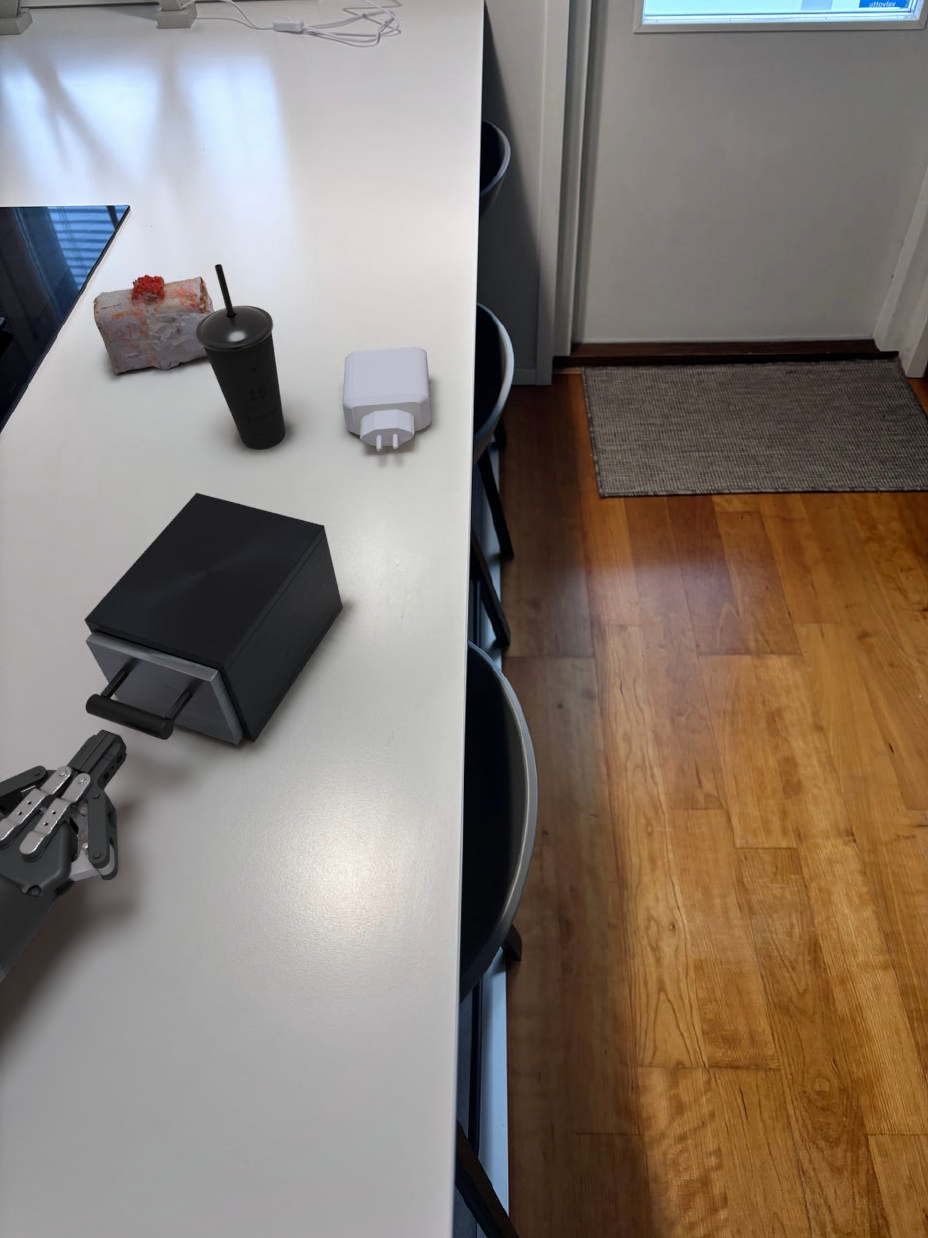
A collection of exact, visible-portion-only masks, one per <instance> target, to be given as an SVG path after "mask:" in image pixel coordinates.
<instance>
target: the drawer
mask: <svg viewBox="0 0 928 1238" xmlns="http://www.w3.org/2000/svg"><path fill="white" fill-rule="evenodd" d="M123 639H124V638H123ZM123 639H120V638H117V637H114V636H111V635H108V634H105V633H101V632H98V631H95V630H94V631H93V632H92V633H91V632H90V634H89V636H88V637H87V638H86V639H85V643H86V645H87V647H88V649H89V650H90V652H91V654H92V656H93V657H94V659H95V662H96V663H97V665H98V667H99V668H100V671H101V672H102V674H103V676H104V677H105V679H106V682H107V685H106V686H105V688H103V690H102V691H101V692H100V694H98V693H93V694H92V695H90V696H89V697H88V698H87V700H86V703H85V712H86V713H87V714H89V715H91V716H94V717H97V718H100V719H102V720H105V721H108V722H111V723H114V724H117V725H119V726H123V727H125V728H128V729H131V730H133V731H134V730H135V731H137V732H140V733H142V734H145V735H147V736H151V737H154V738H155V739H159V740H163V741H166V740H169V739H170V738H171V736H172V735H173V733H174V730H175V724H176V725H178V726H181V727H184V728H187V729H190V730H192V731H196V732H199V733H201V734H204V735H207V736H210V737H213V738H215V739H218V740H222V741H225V742H228V743H230V744H233V745H239V743H240V741H241V740H242V739H243V738H242V737H243V736H244V731H243V729H242V726H241V724H240V721H239V719H238V716H237V714H236V711H235V709H234V706H233V704H232V702H231V699H230V697H229V694H228V692H227V689H226V687H225V684H224V682H223V679H222V677H221V674H220V672H219V670H217V669H216V668H215V667H212V666H208V665H205V664H202V663H199V662H196V661H193V660H190V659H187V658H183V657H180V656H177V655H174V654H171V653H168V652H165V651H162V650H159V649H155V648H152V647H149V646H146V645H143V644H140V643H137V642H134V641H130V640H127V639H124V640H123ZM113 695H114V696H115V698H116V699H117V700H116V699H113V698H112V697H113Z"/></svg>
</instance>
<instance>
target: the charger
mask: <svg viewBox="0 0 928 1238" xmlns="http://www.w3.org/2000/svg"><path fill="white" fill-rule="evenodd" d="M428 363H429V362H428V353H427V350H425V349H424V348H422V347H418V346H407V347H396V348H395V347H393V348H383V349H381V348H379V349H370V350H369V349H368V350H358V351H353V352H350V353H348V354H347V355H345V358H344V371H343V390H342V409H343V416H344V419H345V420H344V421H345V426H346V429H347V431H349V432H351V433H353V434H356V435H358V436H359V439H360V440H361V441H362V442H363V443H365V444H368V445H371V446H375V447H376V451H378V452H380V451H382V447H391V446H392V449H393V450H398V449H399V446H400V445H402V444H404V443H406V442H408V441H410V440H412V438H413V437H415V432H417V431H420V430H422V429H425V428H426V427H428V426H429V425H431V424H432V413H431V412H432V411H431V392H430V375H429V364H428Z"/></svg>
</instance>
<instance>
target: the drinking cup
mask: <svg viewBox="0 0 928 1238" xmlns="http://www.w3.org/2000/svg"><path fill="white" fill-rule="evenodd" d="M214 270H215V273H216V277H217V280H218V284H219V288H220V291H221V296H222V299H223V303H224V306H225V307H224V308H221V309H218V310H214V311H215V312H213V313H211V314H209V315H208V316H206V317H205V318H204V319H203V320H202V321H201V322H200V323H199V324H198V326H197V329H196V336H197V339H198V341H199V342H200V343H201V345H203V347H204V349H205V352H206V354H207V359H208V361H209V364H210V366H211V368H212V371H213V373H214V376H215V378H216V381H217V383H218V385H219V388H220V391H221V393H222V395H223V398H224V400H225V402H226V405H227V407H228V410H229V412H230V415H231V417H232V419H233V422H234V424H235V427H236V429H237V432H238V434H239V437H240V439H241V441H242V443H243V444H244V446H246V447H247V448H250V449H253V450H266V449H270V448H273V447H275V446H277V445H278V444H280V443H281V442H282V441H283V440H284V438H285V436H286V427H285V419H284V412H283V405H282V397H281V390H280V389H281V388H280V382H279V374H278V367H277V361H276V352H275V345H274V339H273V338H274V337H273V329H274V320H273V317H272V316H271V314H270V313H269V312H268V311H267V310H265V309H263V308H261V307H257V306H253V305H233V303H232V298H231V295H230V292H229V287H228V284H227V279H226V276H225V272H224V269H223V265H222V264H221V263H217V264H215V265H214Z"/></svg>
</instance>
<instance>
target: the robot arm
mask: <svg viewBox="0 0 928 1238" xmlns="http://www.w3.org/2000/svg"><path fill="white" fill-rule="evenodd" d="M127 749H128V748H127V745H126V743H125V741H124V739H123V737H122V736H121V735H120V734H117V733H115V732H112V731H109V730H107V729H100V730H99V731H98V732H97V733H96V734H93V735H91V736H90V737H88V738H87V739H86V741H84V743H83V745H82V746H81V747H80V748H79V749H78V750H77V752H76V753H75V754H74V755H73V757H72V758H71V759H70V761H69V762H68V763H67V764H66V765H63V766H60V767H58V768H57V769H46V767H45V766H43V765H36V766H33V767H32V768H29V769H26V770H25V771H23V772H20V773H18V774H16V775H14V776H10V777H9V778H7V779H4V780H2V781H0V984H1V983H2V982H3V980H5V978H6V977H7V976H8V974H9V973H10V972H11V970H12V968H13V967H14V966H15V964H16V963H17V962H18V960H19V959H20V957H21V956H22V955H23V953H24V952H25V951H26V949H27V947H28V946H29V945H30V944H31V942H32V941H33V940H34V938H35V937H36V935H37V934H38V933H39V931H40V930H41V928H42V927H43V926H44V924H45V923H46V920H47V918H48V915H49V913H50V911H51V908H52V906H53V905H54V903H56V902H57V901H58V900H60V899H61V898H62V897H63V896H65V895H67V894H68V893H69V892H71V891H72V889H73V888H74V886H75V884H76V882H78V881H82V880H86V879H89V878H93V877H96V876H99V877H100V878H101V879H102V880H103V881H112V880H114V879H115V878H116V877H117V875H118V873H119V846H118V845H119V843H118V812H117V808H116V806H115V804H114V803H113V802H112V800H111V798H110V797H109V796H108V794H107V792H106V791H105V789H106V787H107V786H108V784H109V783H110V782H111V781H112V779H113V778H114V777H115V775H116V774H117V772H118V771H119V770H120V769H121V767H122V766H123V765H124V763H125V762H126V761H127V758H128V757H127V756H128V753H127ZM86 831H87V842H84V843H82V844H81V849H80V851H79V841H80V840H81V838H82V837H83V835H84V834H85V832H86ZM78 854H79V855H78Z"/></svg>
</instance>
